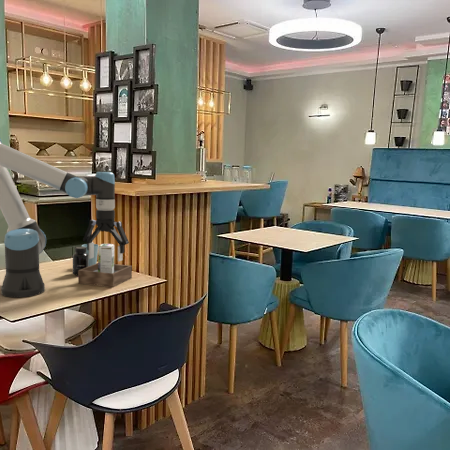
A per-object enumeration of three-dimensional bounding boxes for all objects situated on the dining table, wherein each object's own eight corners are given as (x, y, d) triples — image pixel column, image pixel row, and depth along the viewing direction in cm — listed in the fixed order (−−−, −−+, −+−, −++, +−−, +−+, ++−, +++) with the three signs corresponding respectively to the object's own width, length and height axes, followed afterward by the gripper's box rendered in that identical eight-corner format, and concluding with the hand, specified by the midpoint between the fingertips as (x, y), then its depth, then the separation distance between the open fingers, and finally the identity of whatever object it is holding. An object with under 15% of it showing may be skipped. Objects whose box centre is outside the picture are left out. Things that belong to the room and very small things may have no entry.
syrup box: (100, 276, 193) (100, 243, 191) (114, 276, 194) (114, 243, 192) (97, 280, 188) (97, 246, 186) (112, 280, 188) (112, 246, 186)
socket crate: (78, 283, 186) (78, 270, 185) (99, 274, 201) (99, 262, 200) (113, 287, 181) (113, 274, 181) (131, 278, 197) (131, 265, 196)
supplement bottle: (78, 276, 196) (78, 249, 195) (69, 274, 200) (69, 247, 199) (92, 273, 202) (91, 247, 200) (82, 271, 206) (82, 245, 204)
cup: (91, 269, 210) (91, 247, 209) (78, 267, 213) (78, 245, 212) (101, 265, 218) (101, 244, 216) (88, 264, 220) (88, 243, 219)
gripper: (73, 208, 187) (74, 258, 190) (128, 211, 180) (128, 263, 183) (84, 206, 194) (84, 255, 197) (136, 210, 187) (136, 260, 190)
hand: (105, 259), depth 190 cm, fingers open, 13 cm apart
